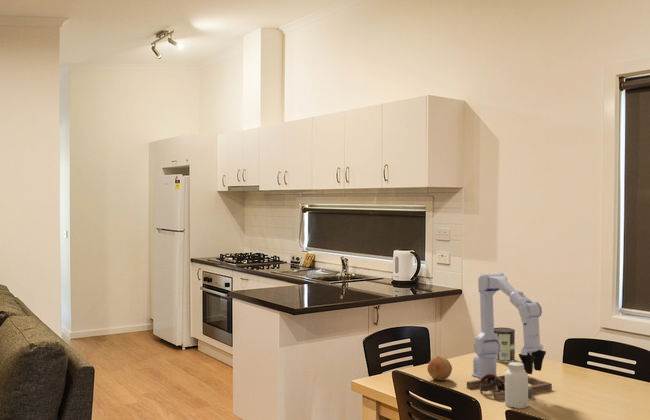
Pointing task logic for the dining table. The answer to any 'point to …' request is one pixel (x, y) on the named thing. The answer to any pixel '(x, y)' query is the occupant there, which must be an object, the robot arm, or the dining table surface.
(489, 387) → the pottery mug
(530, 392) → the block
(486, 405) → the dining table surface
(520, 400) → the pill bottle
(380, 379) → the dining table surface
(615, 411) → the dining table surface
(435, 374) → the onion
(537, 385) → the walnut slot beam
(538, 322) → the robot arm
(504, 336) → the coffee can
